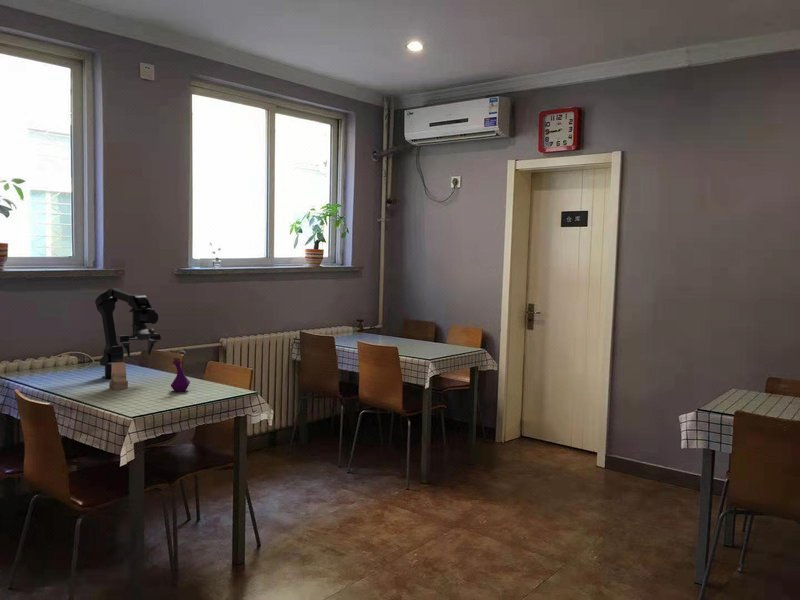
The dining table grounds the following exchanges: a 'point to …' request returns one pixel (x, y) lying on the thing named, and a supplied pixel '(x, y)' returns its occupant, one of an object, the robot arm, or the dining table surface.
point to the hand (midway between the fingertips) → (139, 356)
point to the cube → (118, 368)
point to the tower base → (118, 385)
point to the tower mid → (118, 377)
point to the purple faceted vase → (179, 377)
